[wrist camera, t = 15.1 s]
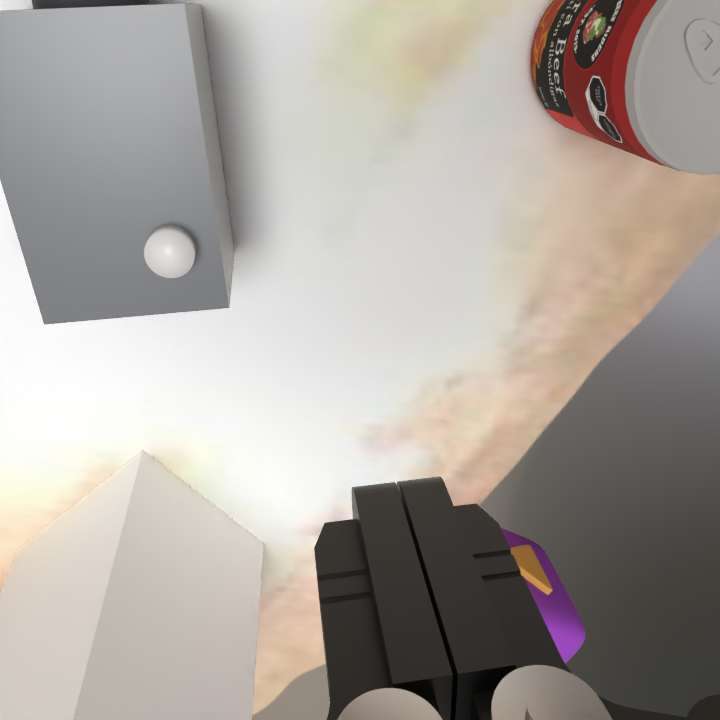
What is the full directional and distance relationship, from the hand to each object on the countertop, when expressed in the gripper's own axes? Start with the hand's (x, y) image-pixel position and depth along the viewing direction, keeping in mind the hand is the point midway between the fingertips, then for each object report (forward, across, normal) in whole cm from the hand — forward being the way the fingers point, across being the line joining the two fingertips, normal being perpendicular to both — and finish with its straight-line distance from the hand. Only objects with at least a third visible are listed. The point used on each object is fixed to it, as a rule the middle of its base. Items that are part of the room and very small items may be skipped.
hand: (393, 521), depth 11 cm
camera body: (+27, +8, -3) cm, 28 cm away
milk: (+27, +13, +25) cm, 39 cm away
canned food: (+27, -16, -5) cm, 32 cm away
